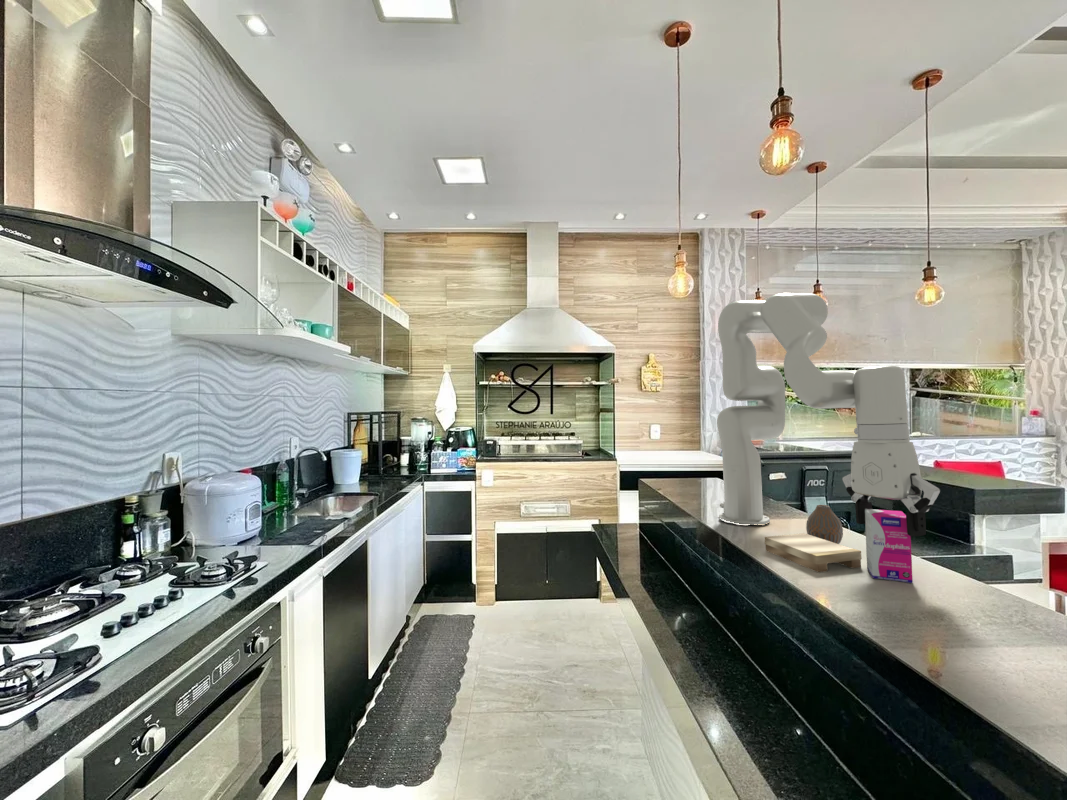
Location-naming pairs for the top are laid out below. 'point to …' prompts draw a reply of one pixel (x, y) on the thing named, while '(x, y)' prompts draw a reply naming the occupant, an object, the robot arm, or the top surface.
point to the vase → (824, 524)
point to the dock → (812, 551)
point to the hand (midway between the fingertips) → (889, 529)
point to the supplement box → (888, 545)
